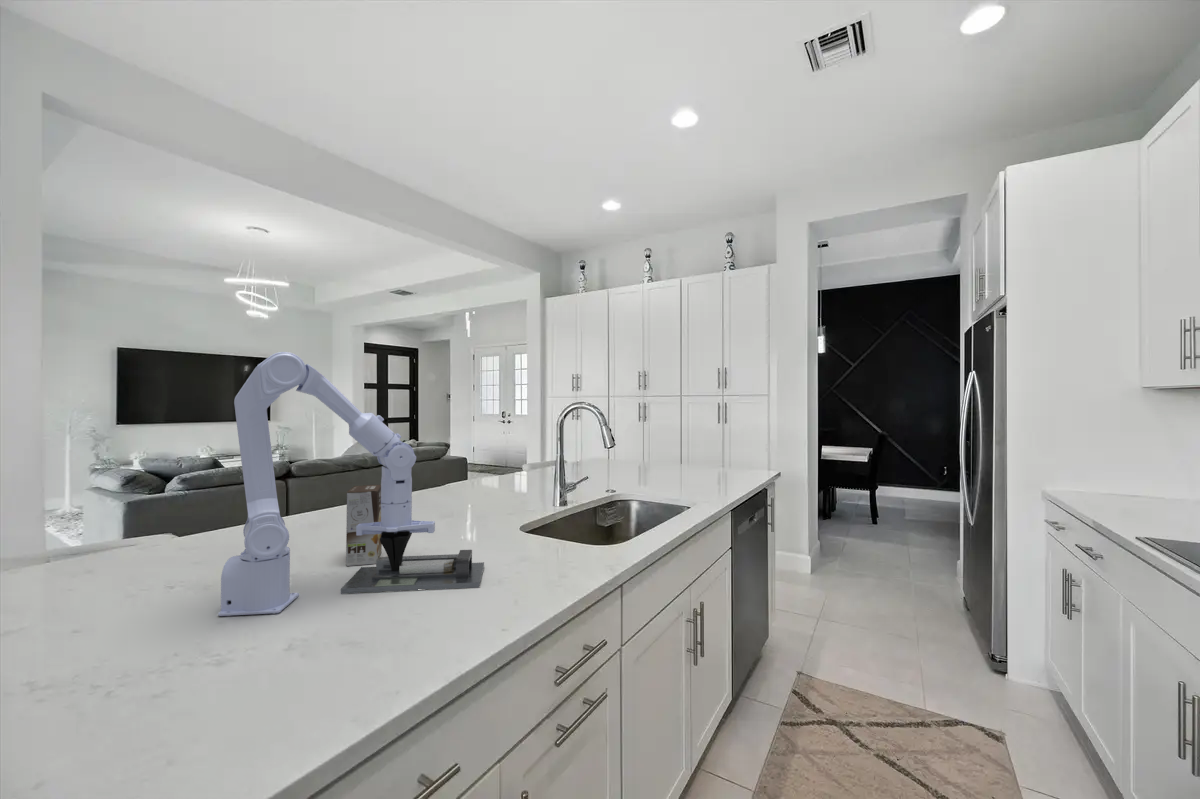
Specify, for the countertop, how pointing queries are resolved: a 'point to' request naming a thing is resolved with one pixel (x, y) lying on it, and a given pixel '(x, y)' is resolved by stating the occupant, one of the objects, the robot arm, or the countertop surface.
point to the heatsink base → (389, 580)
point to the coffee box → (363, 510)
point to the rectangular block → (426, 567)
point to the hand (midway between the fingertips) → (396, 569)
